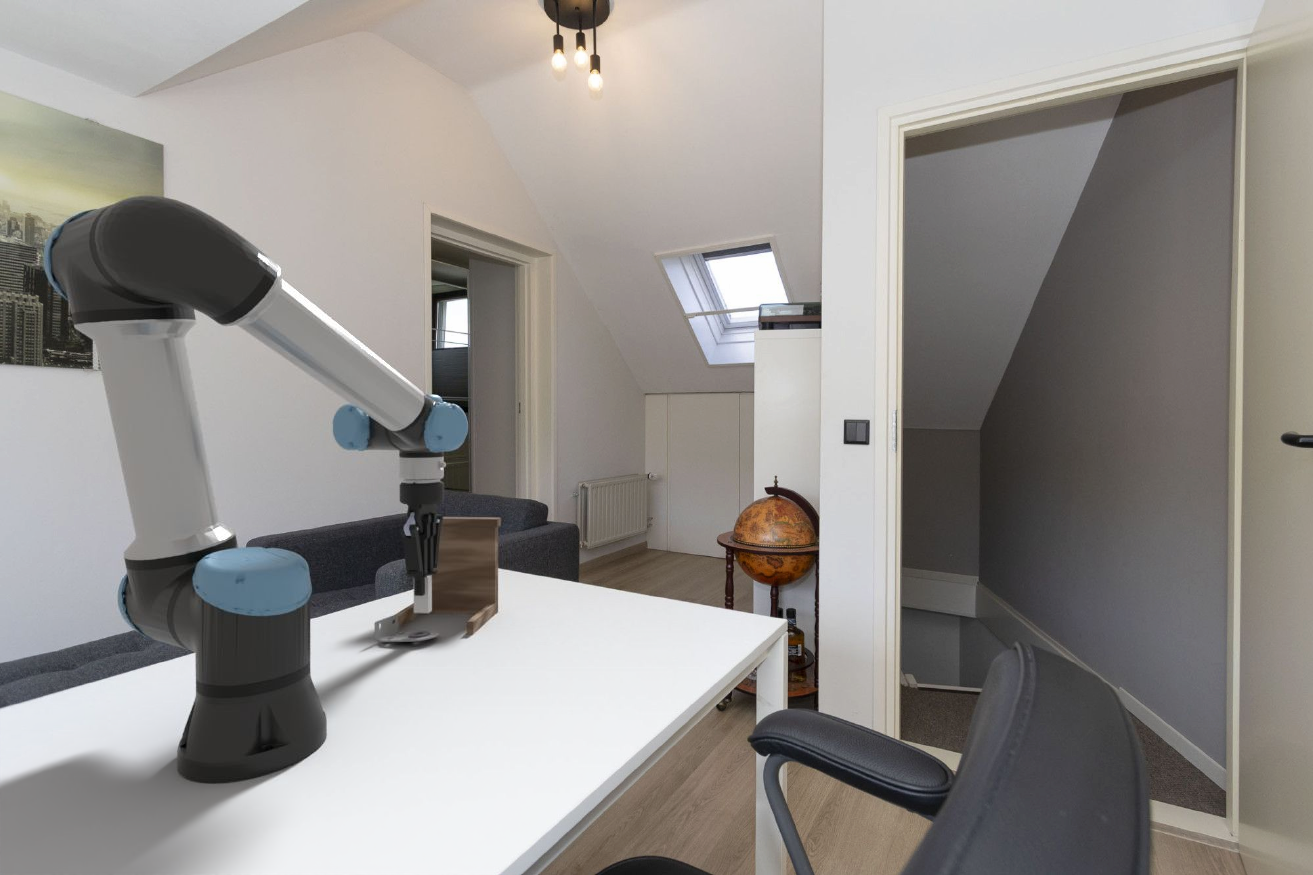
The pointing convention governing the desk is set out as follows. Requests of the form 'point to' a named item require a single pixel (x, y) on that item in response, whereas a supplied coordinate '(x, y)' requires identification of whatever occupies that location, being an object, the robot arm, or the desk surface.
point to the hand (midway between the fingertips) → (422, 611)
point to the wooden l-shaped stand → (464, 572)
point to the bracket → (390, 634)
